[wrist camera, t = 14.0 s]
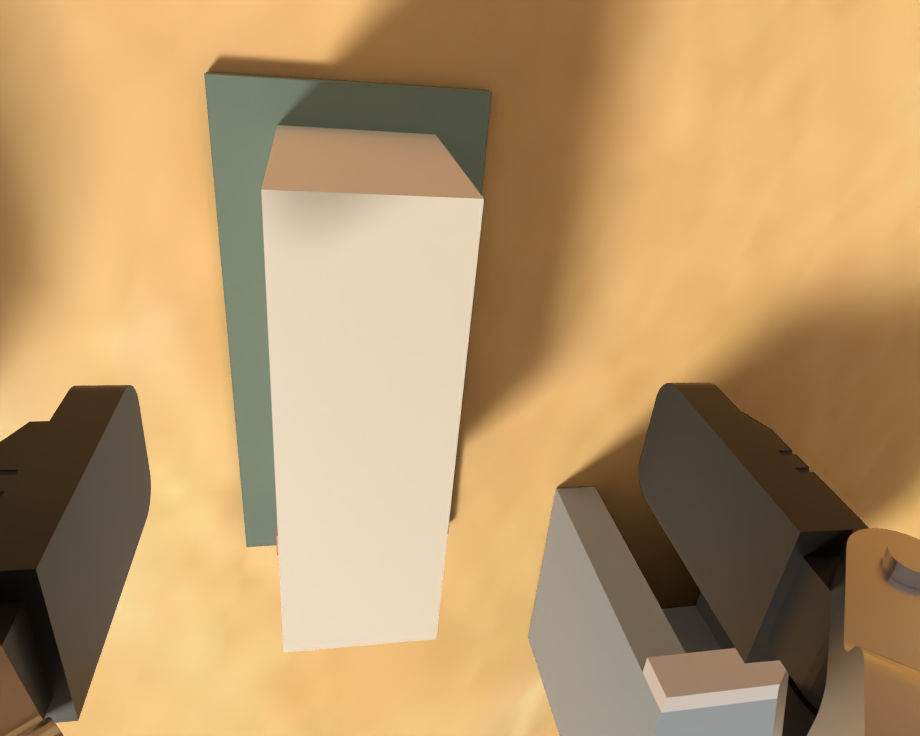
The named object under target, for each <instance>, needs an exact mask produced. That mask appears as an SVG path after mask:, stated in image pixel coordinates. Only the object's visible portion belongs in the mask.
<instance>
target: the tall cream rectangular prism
mask: <svg viewBox="0 0 920 736" xmlns="http://www.w3.org/2000/svg"><path fill="white" fill-rule="evenodd" d="M261 195H262V216H263V237H264V258H265V279H266V299H267V320H268V341H269V362H270V383H271V403H272V424H273V445H274V466H275V486H276V507H277V534H276V539H277V555H279V570H280V590H281V611H282V632H283V653H284V652H295V651H306V650H318V649H329V648H340V647H351V646H362V645H373V644H385V643H396V642H407V641H418V640H429V639H436V636H437V627H438V618H439V609H440V599H441V590H442V581H443V572H444V563H445V553H446V544H447V535H448V526H449V516H450V507H451V498H452V489H453V480H454V470H455V461H456V452H457V443H458V434H459V424H460V415H461V406H462V397H463V388H464V378H465V369H466V360H467V351H468V342H469V332H470V323H471V314H472V305H473V296H474V286H475V277H476V268H477V259H478V249H479V240H480V231H481V222H482V213H483V203H484V198H483V197H482V196H481V194H480V193H479V192H478V190H477V189H476V188H475V186H474V185H473V184H472V182H471V181H470V180H469V178H468V177H467V176H466V174H465V173H464V172H463V170H462V169H461V168H460V166H459V165H458V164H457V162H456V161H455V160H454V158H453V157H452V156H451V154H450V153H449V152H448V150H447V149H446V148H445V146H444V145H443V144H442V142H441V141H440V140H439V138H438V137H437V136H436V135H435V134H418V133H402V132H385V131H368V130H352V129H335V128H318V127H302V126H285V125H277V128H276V132H275V136H274V140H273V144H272V148H271V152H270V156H269V160H268V164H267V168H266V172H265V176H264V180H263V184H262V189H261Z"/></svg>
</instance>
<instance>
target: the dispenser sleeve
mask: <svg viewBox="0 0 920 736" xmlns="http://www.w3.org/2000/svg"><path fill="white" fill-rule="evenodd" d="M528 639H529V642H530V645H531V648H532V651H533V654H534V657H535V660H536V663H537V667H538V670H539V673H540V676H541V679H542V682H543V685H544V688H545V691H546V695H547V698H548V701H549V704H550V707H551V710H552V713H553V716H554V719H555V723H556V726H557V729H558V732H559V735H560V736H773V729H774V721H775V713H776V705H777V697H778V689H779V686H780V683H781V681H782V678H783V676H784V674H785V672H786V669H785V667H784V666H783V664H782V663H781V661H780V660H777V661H766V662H755V663H744V661H743V660H742V658H741V656H740V655H739V653H738V651H737V650H736V648H735V647H734V645H733V643H732V642H731V640H730V638H729V637H728V635H727V633H726V632H725V630H724V629H723V627H722V625H721V624H720V622H719V620H718V619H717V617H716V615H715V614H714V612H713V610H712V609H711V607H710V606H709V604H708V602H707V601H706V599H705V597H704V596H703V594H702V592H701V591H700V594H699V597H698V600H697V603H696V605H695V606H686V607H675V608H664V609H661V607H660V605H659V603H658V601H657V600H656V598H655V596H654V594H653V592H652V590H651V589H650V587H649V585H648V583H647V581H646V579H645V578H644V576H643V574H642V572H641V570H640V568H639V567H638V565H637V563H636V561H635V559H634V557H633V556H632V554H631V552H630V550H629V548H628V546H627V545H626V543H625V541H624V539H623V537H622V535H621V534H620V532H619V530H618V528H617V526H616V524H615V523H614V521H613V519H612V517H611V515H610V513H609V512H608V510H607V508H606V506H605V504H604V502H603V501H602V499H601V497H600V495H599V493H598V491H597V490H596V488H595V487H576V488H558V489H556V493H555V498H554V504H553V509H552V514H551V519H550V525H549V530H548V535H547V540H546V546H545V551H544V556H543V561H542V567H541V572H540V577H539V582H538V588H537V593H536V598H535V603H534V609H533V614H532V619H531V625H530V630H529V635H528Z"/></svg>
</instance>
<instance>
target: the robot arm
mask: <svg viewBox="0 0 920 736" xmlns="http://www.w3.org/2000/svg"><path fill="white" fill-rule="evenodd" d="M639 482H640V487H641V491H642V494H643V497H644V499H645V500H646V502H647V504H648V505H649V507H650V509H651V510H652V512H653V514H654V515H655V517H656V519H657V520H658V522H659V523H660V525H661V527H662V528H663V530H664V532H665V533H666V535H667V537H668V538H669V540H670V542H671V543H672V545H673V546H674V548H675V550H676V551H677V553H678V555H679V556H680V558H681V560H682V561H683V563H684V565H685V566H686V568H687V569H688V571H689V573H690V574H691V576H692V578H693V579H694V581H695V583H696V584H697V586H698V587H699V589H700V591H701V592H702V594H703V596H704V597H705V599H706V601H707V602H708V604H709V606H710V607H711V609H712V610H713V612H714V614H715V615H716V617H717V619H718V620H719V622H720V624H721V625H722V627H723V629H724V630H725V632H726V633H727V635H728V637H729V638H730V640H731V642H732V643H733V645H734V647H735V648H736V650H737V651H738V653H739V655H740V656H741V658H742V660H743V661H744V663H755V662H766V661H777V660H780V661H781V663H782V664H783V666H784V667H785V669H786V672H785V674H784V676H783V678H782V681H781V683H780V686H779V689H778V697H777V705H776V713H775V721H774V729H773V736H920V540H919V539H917V538H914V537H912V536H909V535H907V534H903V533H900V532H897V531H892V530H887V529H879V528H868V527H867V526H866V525H865V524H864V523H863V521H862V520H861V519H860V518H859V517H858V516H857V515H856V514H855V513H854V512H853V511H852V510H851V509H850V508H849V507H848V506H847V505H846V504H845V503H844V502H843V501H842V500H841V499H840V498H839V497H838V496H837V495H836V494H835V493H834V492H833V491H832V490H831V489H830V488H829V487H828V486H827V485H826V484H825V483H824V482H823V481H822V480H821V479H820V478H819V477H818V476H817V475H816V474H815V473H814V472H809V467H808V466H807V465H806V464H805V463H804V462H803V461H802V460H801V459H800V458H799V457H798V456H797V455H796V454H795V455H793V454H792V450H791V449H790V448H789V447H788V445H787V444H786V443H785V442H784V441H783V440H782V439H781V438H780V437H779V436H778V435H777V434H776V433H775V432H774V431H773V430H772V429H770V428H768V427H767V426H765V425H763V424H762V423H760V422H758V421H757V420H755V419H753V418H752V417H750V416H748V415H747V414H745V413H743V412H741V411H740V410H739V409H738V408H737V407H736V406H735V405H734V404H733V403H732V402H731V401H730V400H729V399H728V398H727V397H726V396H725V394H724V393H723V392H722V391H721V390H720V389H719V388H718V387H717V386H716V385H714V384H712V383H667V384H665V385H663V386H662V387H661V388H660V390H659V392H658V394H657V397H656V401H655V405H654V408H653V412H652V416H651V420H650V424H649V427H648V431H647V435H646V439H645V443H644V447H643V450H642V454H641V458H640V463H639ZM150 494H151V480H150V470H149V464H148V457H147V451H146V445H145V438H144V432H143V426H142V419H141V413H140V406H139V401H138V396H137V393H136V390H135V389H134V387H133V386H131V385H103V386H73V387H72V388H71V389H70V390H69V391H68V393H67V394H66V396H65V398H64V399H63V401H62V402H61V404H60V405H59V407H58V409H57V410H56V412H55V413H54V415H53V416H52V418H51V420H50V421H40V422H29V423H27V424H26V425H24V426H23V427H21V428H20V429H18V430H17V431H16V432H14V433H13V434H11V435H10V436H8V437H7V438H5V439H4V440H2V441H1V442H0V736H63V734H62V732H61V731H60V729H59V728H58V726H57V725H56V723H57V722H68V721H78V719H79V716H80V713H81V711H82V708H83V705H84V702H85V699H86V696H87V693H88V690H89V687H90V684H91V681H92V678H93V675H94V672H95V669H96V666H97V663H98V660H99V657H100V654H101V652H102V649H103V646H104V643H105V640H106V637H107V634H108V631H109V628H110V625H111V622H112V619H113V616H114V613H115V610H116V607H117V604H118V601H119V598H120V595H121V593H122V590H123V587H124V584H125V581H126V578H127V575H128V572H129V569H130V566H131V563H132V560H133V557H134V554H135V551H136V548H137V545H138V542H139V539H140V536H141V534H142V531H143V528H144V525H145V522H146V519H147V515H148V511H149V505H150Z"/></svg>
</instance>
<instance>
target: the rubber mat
mask: <svg viewBox="0 0 920 736" xmlns="http://www.w3.org/2000/svg"><path fill="white" fill-rule="evenodd" d="M204 75H205V87H206V98H207V109H208V120H209V131H210V142H211V153H212V165H213V176H214V187H215V198H216V209H217V220H218V232H219V243H220V254H221V265H222V276H223V287H224V299H225V310H226V321H227V332H228V343H229V354H230V365H231V377H232V388H233V399H234V410H235V421H236V432H237V444H238V455H239V466H240V477H241V488H242V499H243V510H244V522H245V533H246V544H247V547H255V546H270V545H277V539H276V534H277V507H276V486H275V466H274V445H273V424H272V403H271V383H270V362H269V341H268V320H267V299H266V279H265V258H264V237H263V216H262V195H261V189H262V184H263V180H264V176H265V172H266V168H267V164H268V160H269V156H270V152H271V148H272V144H273V140H274V136H275V132H276V128H277V125H285V126H302V127H318V128H335V129H352V130H368V131H385V132H402V133H418V134H435V135H436V136H437V137H438V138H439V140H440V141H441V142H442V144H443V145H444V146H445V148H446V149H447V150H448V152H449V153H450V154H451V156H452V157H453V158H454V160H455V161H456V162H457V164H458V165H459V166H460V168H461V169H462V170H463V172H464V173H465V174H466V176H467V177H468V178H469V180H470V181H471V182H472V184H473V185H474V186H475V188H476V189H477V190H478V192H479V193H480V194H482V184H483V174H484V164H485V154H486V143H487V133H488V123H489V113H490V103H491V93H492V92H490V91H489V90H478V89H462V88H447V87H431V86H416V85H400V84H385V83H370V82H354V81H339V80H323V79H308V78H293V77H277V76H262V75H246V74H231V73H216V72H206V73H205V74H204ZM452 490H453V489H452ZM451 500H452V498H451ZM450 510H451V507H450ZM449 521H450V516H449ZM448 531H449V526H448Z"/></svg>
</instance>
